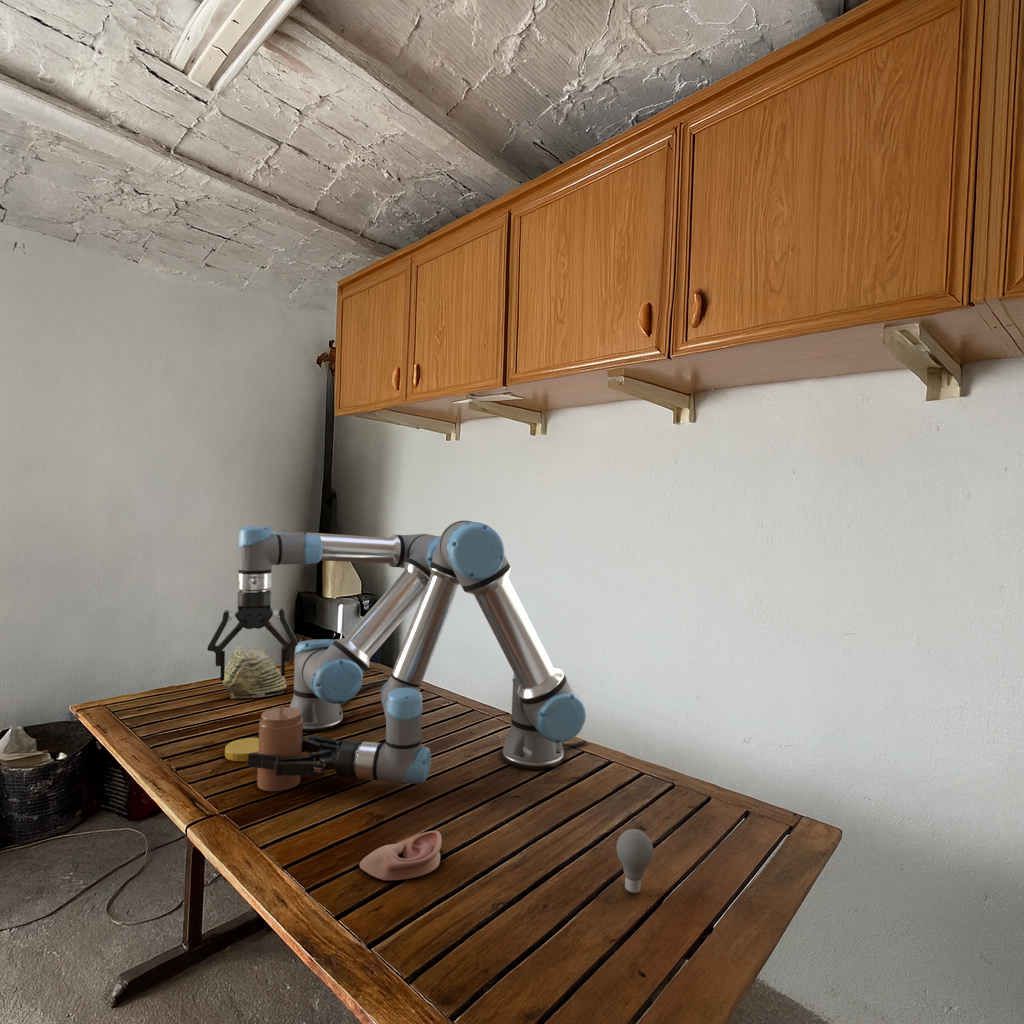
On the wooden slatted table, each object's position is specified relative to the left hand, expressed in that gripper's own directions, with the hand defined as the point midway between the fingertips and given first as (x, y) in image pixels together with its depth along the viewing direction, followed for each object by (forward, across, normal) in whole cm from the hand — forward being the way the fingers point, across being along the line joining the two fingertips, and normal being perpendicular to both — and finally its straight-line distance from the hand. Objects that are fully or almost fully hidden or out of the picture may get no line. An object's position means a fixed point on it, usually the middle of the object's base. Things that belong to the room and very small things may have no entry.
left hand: (253, 677), depth 154 cm
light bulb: (+19, +60, -77) cm, 99 cm away
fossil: (+19, 0, +46) cm, 50 cm away
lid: (+17, -1, 0) cm, 17 cm away
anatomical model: (+19, +25, -57) cm, 65 cm away
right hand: (+12, +2, -16) cm, 20 cm away
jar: (+19, +6, -18) cm, 27 cm away
